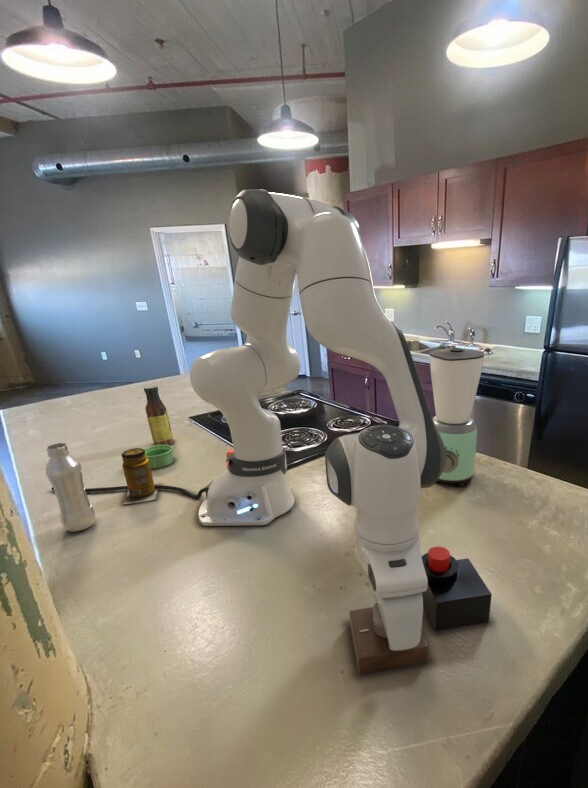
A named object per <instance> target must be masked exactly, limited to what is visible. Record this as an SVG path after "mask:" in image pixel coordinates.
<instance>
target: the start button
mask: <svg viewBox="0 0 588 788" xmlns="http://www.w3.org/2000/svg"><path fill="white" fill-rule="evenodd" d="M427 553H428V564H427V565H428V568H429V569H430V570H432V571H434V572H439V573H440V572H446V571H447V570H448V569H449V564H450V555H451V552H450V551H449V550H448V549H447V548H446V547H443V546H433V547H430V548H429V549H428V550H427Z"/></svg>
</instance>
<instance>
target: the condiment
mask: <svg viewBox="0 0 588 788" xmlns="http://www.w3.org/2000/svg"><path fill="white" fill-rule="evenodd" d="M144 449H145V448H142V447H135V448H130V449H126V450H124V451H123V452H122V453H121V458H122V465H121V466H122V469H123V473H124V478H125V481H126V486H127V487H128V489H127V493H126V496H125V498H124V501H123V504H122V505H131V504H138V503H144V502H150V501H155V500H156V499H157V493H158V490H159V489H155V486H154V485H155V483H154V477H153V473H152V469H151V468H150V463H149V460H148V458H146V454H145V450H144Z"/></svg>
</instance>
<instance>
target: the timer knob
mask: <svg viewBox="0 0 588 788" xmlns="http://www.w3.org/2000/svg"><path fill="white" fill-rule="evenodd" d="M372 607H373V629H374V632H375V633H376V634H377V635H378V636H380V637H383V638H387V635H386V631H385V628H384V624H383V621H382V617H381V614H380V610H379V607H378V603H377V602H375V603H374V605H373V606H372Z"/></svg>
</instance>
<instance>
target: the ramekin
mask: <svg viewBox="0 0 588 788" xmlns="http://www.w3.org/2000/svg"><path fill="white" fill-rule="evenodd" d="M173 448H174V447H173V446H172V445H171V444H169V445H151V446H148V447H145V448H143V449H144V450H145V454H146V458H148V460H149V463H150V468H151V470H152V469H160V468H165V467H168V466H169V465H171V464H172V463H173V462H174V454H173Z"/></svg>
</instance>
